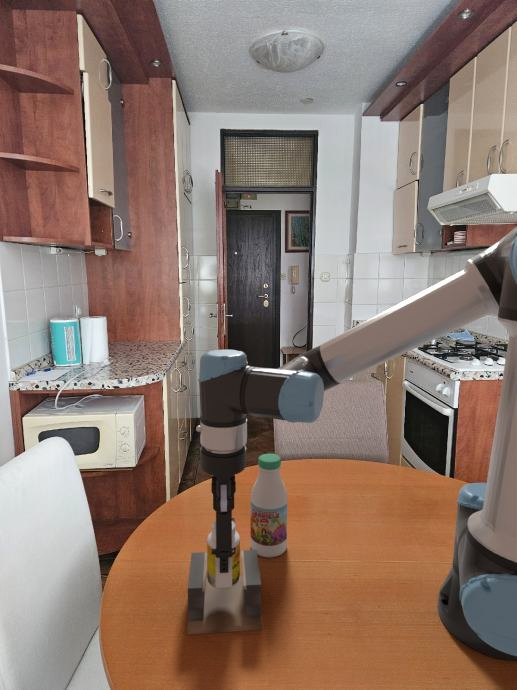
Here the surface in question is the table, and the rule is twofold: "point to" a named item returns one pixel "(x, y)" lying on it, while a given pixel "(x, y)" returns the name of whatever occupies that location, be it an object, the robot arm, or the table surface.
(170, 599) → the table surface
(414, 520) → the table surface
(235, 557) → the supplement bottle
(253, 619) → the clamp block
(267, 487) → the milk bottle
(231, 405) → the robot arm
